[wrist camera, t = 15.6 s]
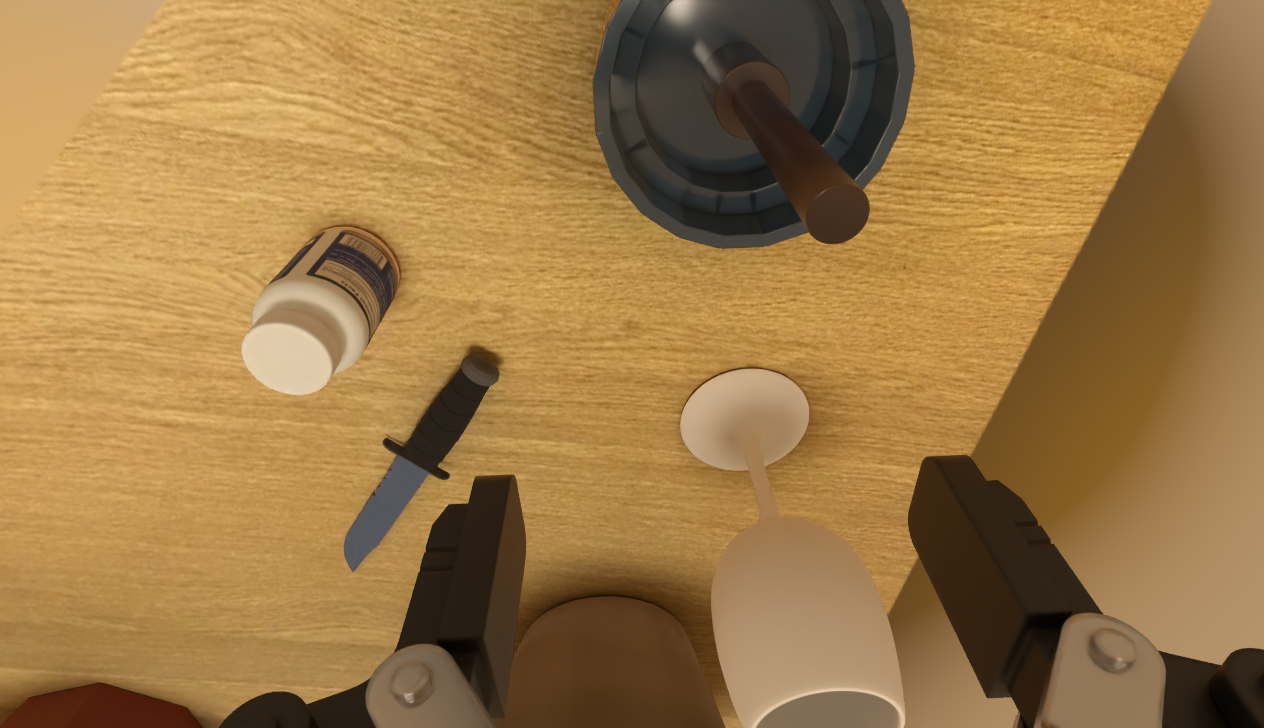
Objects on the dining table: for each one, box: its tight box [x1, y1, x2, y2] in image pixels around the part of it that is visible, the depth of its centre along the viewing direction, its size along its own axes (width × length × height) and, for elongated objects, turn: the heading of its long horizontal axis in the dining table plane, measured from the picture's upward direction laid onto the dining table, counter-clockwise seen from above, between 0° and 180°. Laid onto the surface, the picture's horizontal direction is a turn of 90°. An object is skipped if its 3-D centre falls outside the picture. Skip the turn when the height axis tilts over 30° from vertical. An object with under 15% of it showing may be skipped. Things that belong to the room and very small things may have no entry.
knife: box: [344, 354, 499, 572], centre depth 47 cm, size 24×2×5 cm
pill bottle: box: [241, 227, 400, 395], centre depth 35 cm, size 5×5×10 cm
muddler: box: [702, 42, 870, 244], centre depth 25 cm, size 3×3×18 cm
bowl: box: [593, 0, 915, 249], centre depth 31 cm, size 13×13×6 cm
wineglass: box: [680, 369, 905, 728], centre depth 37 cm, size 9×9×21 cm
